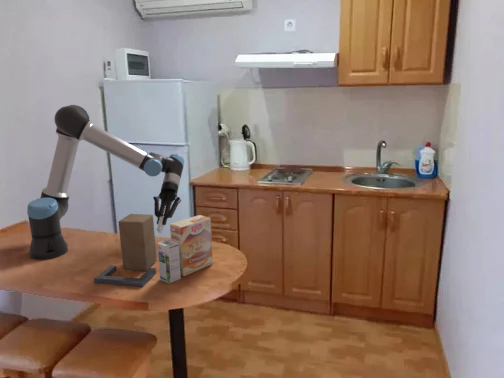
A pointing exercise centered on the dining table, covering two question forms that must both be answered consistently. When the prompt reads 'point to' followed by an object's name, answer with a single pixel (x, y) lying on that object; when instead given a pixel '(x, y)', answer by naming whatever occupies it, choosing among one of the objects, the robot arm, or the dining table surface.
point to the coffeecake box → (193, 243)
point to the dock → (123, 278)
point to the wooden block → (137, 242)
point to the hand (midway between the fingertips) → (159, 231)
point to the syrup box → (169, 261)
